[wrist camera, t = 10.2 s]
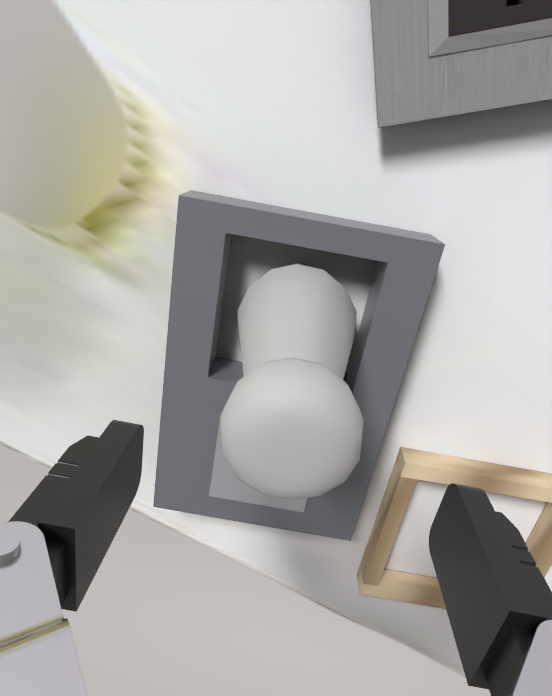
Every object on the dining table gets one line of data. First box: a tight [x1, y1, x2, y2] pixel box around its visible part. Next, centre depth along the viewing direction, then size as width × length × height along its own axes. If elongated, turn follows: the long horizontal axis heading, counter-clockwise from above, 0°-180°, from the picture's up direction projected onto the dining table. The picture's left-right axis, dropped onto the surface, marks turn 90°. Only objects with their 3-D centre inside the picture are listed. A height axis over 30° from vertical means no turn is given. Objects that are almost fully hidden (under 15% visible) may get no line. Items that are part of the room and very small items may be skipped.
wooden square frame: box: [357, 447, 552, 609], centre depth 30 cm, size 11×11×2 cm
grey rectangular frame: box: [153, 190, 445, 541], centre depth 25 cm, size 12×18×3 cm, turn 170°
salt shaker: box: [221, 264, 363, 501], centre depth 19 cm, size 6×6×13 cm
